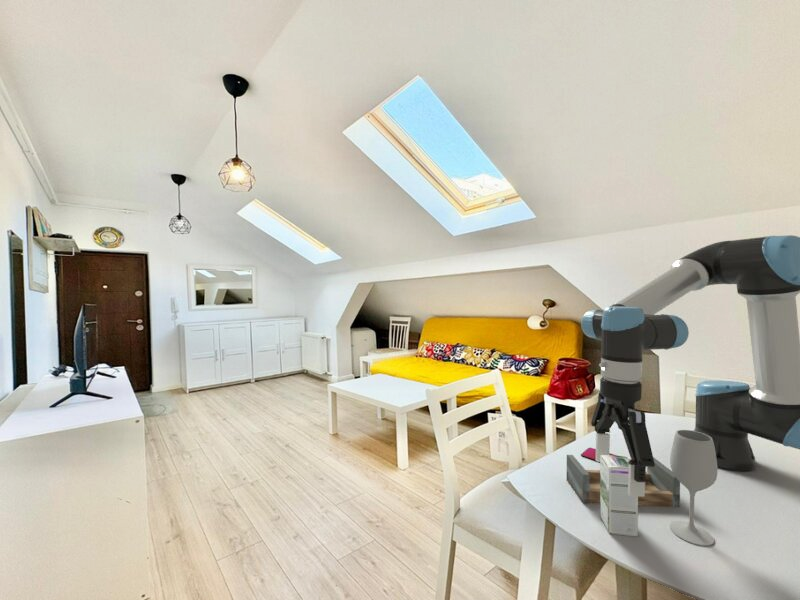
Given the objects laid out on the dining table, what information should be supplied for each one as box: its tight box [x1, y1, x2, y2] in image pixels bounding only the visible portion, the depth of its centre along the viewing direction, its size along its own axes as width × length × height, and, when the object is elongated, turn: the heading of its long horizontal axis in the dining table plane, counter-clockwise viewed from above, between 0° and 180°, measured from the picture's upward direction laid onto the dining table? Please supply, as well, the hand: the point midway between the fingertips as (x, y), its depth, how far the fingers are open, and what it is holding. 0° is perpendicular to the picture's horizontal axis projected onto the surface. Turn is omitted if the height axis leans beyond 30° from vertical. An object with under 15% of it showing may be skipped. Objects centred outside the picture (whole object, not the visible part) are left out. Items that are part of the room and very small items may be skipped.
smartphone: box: [580, 447, 632, 464], centre depth 106 cm, size 8×1×15 cm
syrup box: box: [599, 454, 639, 537], centre depth 77 cm, size 6×6×14 cm
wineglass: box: [669, 429, 719, 547], centre depth 74 cm, size 8×8×21 cm
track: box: [566, 454, 681, 508], centre depth 90 cm, size 22×10×7 cm, turn 86°
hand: (617, 476), depth 77 cm, fingers open, 13 cm apart
